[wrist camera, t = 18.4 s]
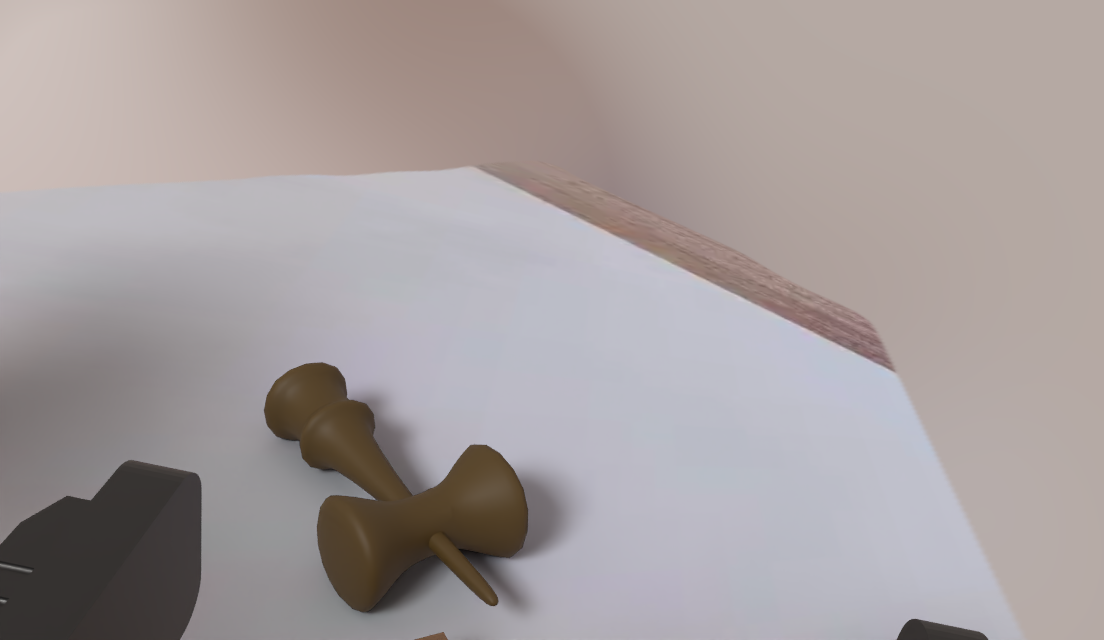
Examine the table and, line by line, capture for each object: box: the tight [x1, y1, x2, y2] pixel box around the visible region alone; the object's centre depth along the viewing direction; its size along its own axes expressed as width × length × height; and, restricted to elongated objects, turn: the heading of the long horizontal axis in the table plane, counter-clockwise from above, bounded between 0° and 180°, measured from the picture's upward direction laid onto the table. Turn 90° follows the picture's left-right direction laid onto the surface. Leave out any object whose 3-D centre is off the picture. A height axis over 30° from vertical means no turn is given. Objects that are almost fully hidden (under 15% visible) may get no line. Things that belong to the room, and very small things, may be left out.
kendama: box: [264, 363, 528, 612], centre depth 51 cm, size 6×10×20 cm
